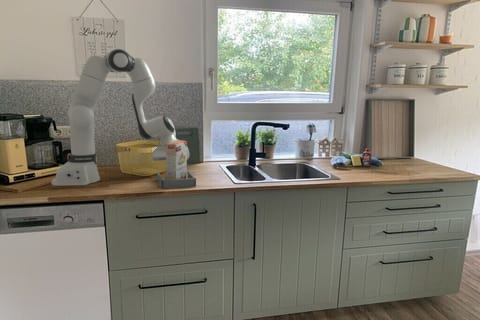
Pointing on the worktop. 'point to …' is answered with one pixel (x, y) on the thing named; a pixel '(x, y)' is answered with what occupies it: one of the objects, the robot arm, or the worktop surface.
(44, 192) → the worktop surface
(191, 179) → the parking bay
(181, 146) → the cracker box
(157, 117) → the robot arm
